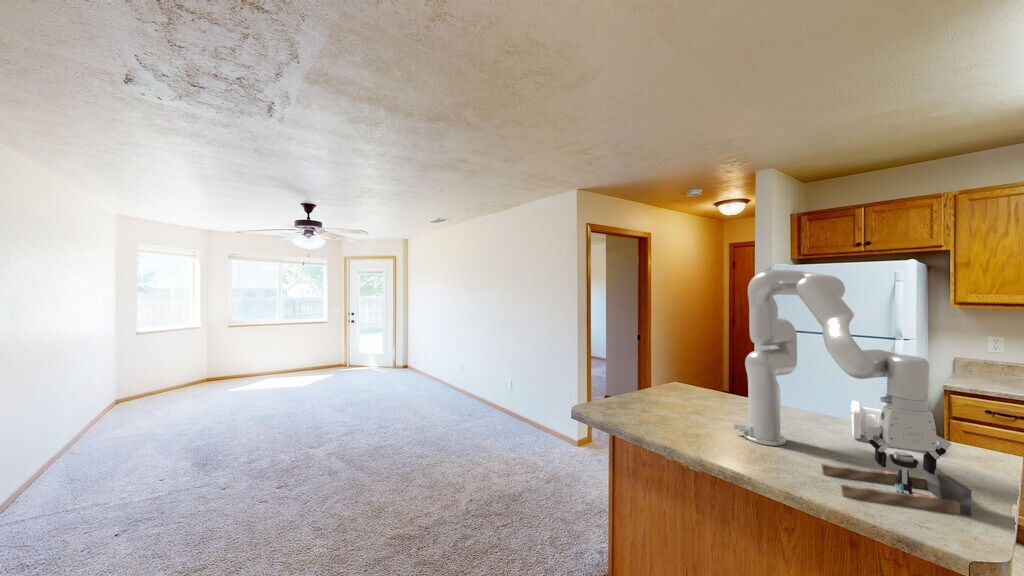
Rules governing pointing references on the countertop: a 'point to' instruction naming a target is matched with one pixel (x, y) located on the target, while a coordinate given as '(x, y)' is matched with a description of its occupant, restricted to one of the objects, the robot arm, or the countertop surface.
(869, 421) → the cable organizer
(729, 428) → the countertop surface
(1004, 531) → the countertop surface
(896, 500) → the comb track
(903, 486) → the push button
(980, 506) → the countertop surface
